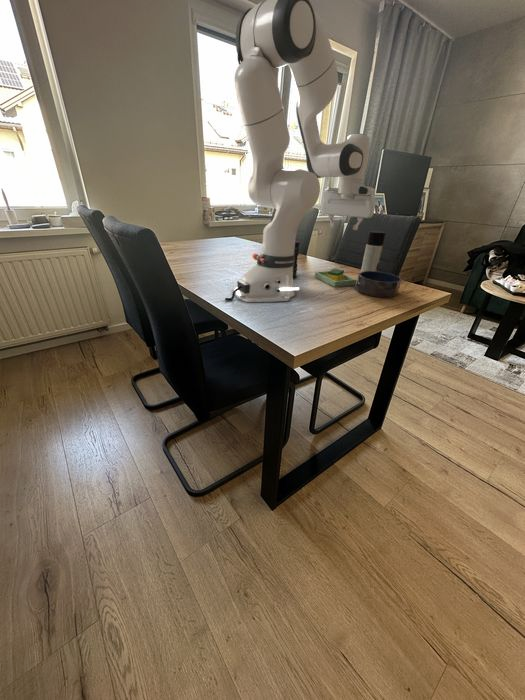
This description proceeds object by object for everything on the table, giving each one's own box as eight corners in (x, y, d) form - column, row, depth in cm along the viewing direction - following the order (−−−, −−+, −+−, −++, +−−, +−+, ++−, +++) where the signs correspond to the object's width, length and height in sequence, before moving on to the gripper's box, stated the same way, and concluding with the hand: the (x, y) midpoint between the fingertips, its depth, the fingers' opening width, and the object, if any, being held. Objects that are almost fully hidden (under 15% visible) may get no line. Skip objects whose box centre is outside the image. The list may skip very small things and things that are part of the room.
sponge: (336, 282, 119) (338, 273, 117) (326, 279, 121) (328, 271, 119) (342, 278, 124) (344, 270, 122) (332, 276, 126) (334, 268, 124)
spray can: (376, 281, 124) (388, 233, 113) (361, 281, 124) (372, 232, 113) (371, 277, 129) (382, 231, 119) (357, 277, 129) (367, 230, 119)
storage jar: (278, 279, 120) (280, 242, 113) (271, 273, 128) (273, 238, 121) (299, 278, 123) (303, 242, 115) (291, 272, 131) (294, 238, 123)
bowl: (374, 300, 103) (378, 283, 100) (347, 287, 115) (350, 272, 112) (406, 296, 108) (411, 280, 105) (377, 284, 121) (381, 270, 118)
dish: (334, 287, 115) (335, 281, 113) (314, 276, 127) (315, 271, 125) (355, 284, 118) (356, 279, 117) (334, 275, 130) (335, 270, 129)
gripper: (321, 187, 107) (316, 226, 114) (375, 189, 98) (366, 232, 105) (327, 187, 112) (322, 225, 119) (379, 190, 103) (371, 230, 110)
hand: (343, 228), depth 112 cm, fingers open, 8 cm apart
